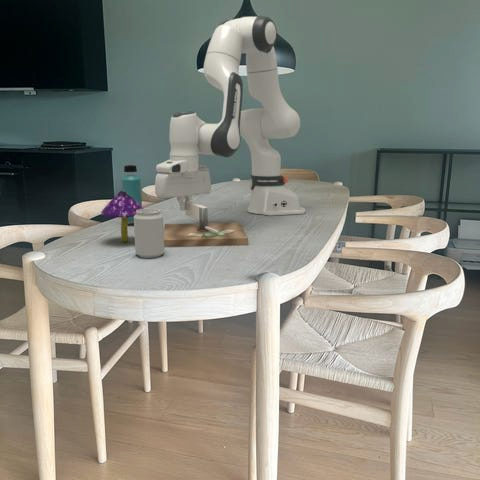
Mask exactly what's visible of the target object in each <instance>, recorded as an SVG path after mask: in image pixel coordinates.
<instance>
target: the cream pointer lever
mask: <svg viewBox="0 0 480 480" xmlns="http://www.w3.org/2000/svg"><path fill="white" fill-rule="evenodd" d="M185 215H186V216H188V217H190V218H194V219H196V220H199V222H198V223H199V229H200V230H209V231H212V232H214V233H219V231H217V230H215V229H212V228H210V227H208V223H209V207H208V206H204V205H201V204H198V203H195V202H190V204H189V210H185Z"/></svg>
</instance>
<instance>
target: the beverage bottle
mask: <svg viewBox="0 0 480 480" xmlns="http://www.w3.org/2000/svg"><path fill="white" fill-rule="evenodd" d="M123 172H124V173H137V172H138V169H137V165H132V164H128V165H127V164H126V165H124V166H123ZM121 187H122V188H121V191H125V192H126V193H127V194H128V195H129V196H131V197H132V198H134V199H135V200H136V201H137V202H138V203H139V204H140V205H141V206H142V207H143V203H142V201H143V200H142V199H143V198H142V186H141V178H140V177H139V176H138V175H135V174H131V175H130V174H127V175H123V176H122V178H121ZM128 223H134V217H128Z"/></svg>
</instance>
